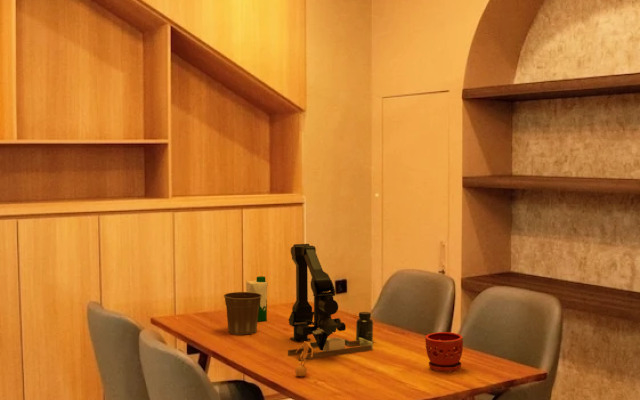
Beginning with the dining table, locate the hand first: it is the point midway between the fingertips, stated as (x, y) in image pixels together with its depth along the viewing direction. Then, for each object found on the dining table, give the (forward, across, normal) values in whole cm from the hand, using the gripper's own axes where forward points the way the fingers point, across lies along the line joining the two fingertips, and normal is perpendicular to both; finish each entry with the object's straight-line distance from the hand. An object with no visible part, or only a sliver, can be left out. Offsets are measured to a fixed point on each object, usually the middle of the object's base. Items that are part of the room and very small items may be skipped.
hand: (321, 350), depth 296 cm
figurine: (+2, -20, -22) cm, 30 cm away
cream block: (+2, +6, 0) cm, 6 cm away
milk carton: (+2, +4, +66) cm, 66 cm away
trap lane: (+1, +4, +3) cm, 6 cm away
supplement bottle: (+2, +25, +8) cm, 26 cm away
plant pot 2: (+2, +28, -39) cm, 48 cm away
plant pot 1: (+2, -11, +48) cm, 49 cm away
